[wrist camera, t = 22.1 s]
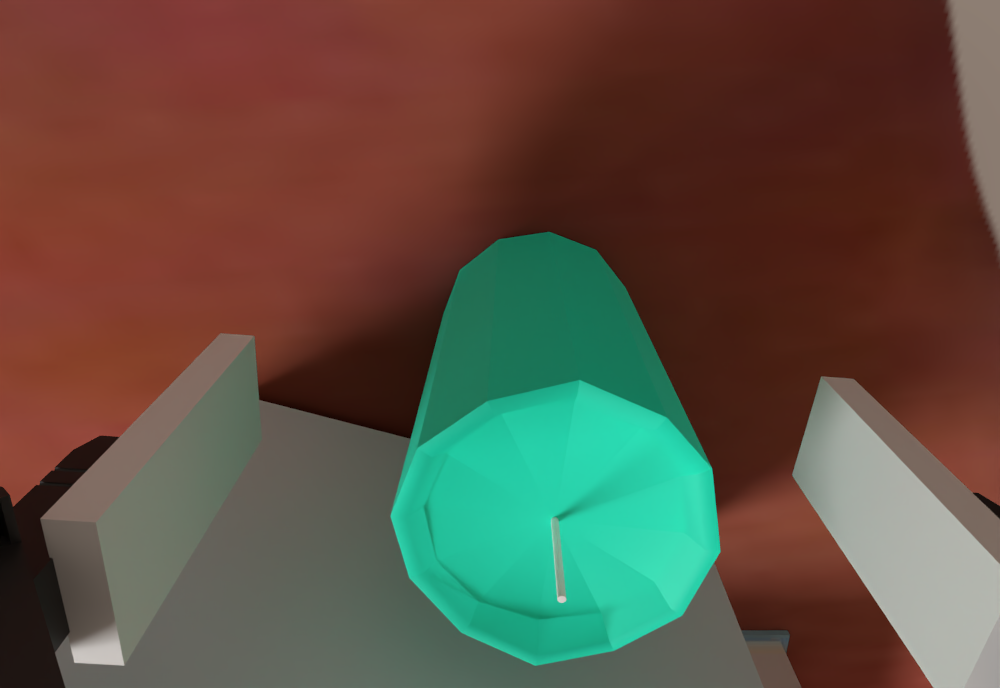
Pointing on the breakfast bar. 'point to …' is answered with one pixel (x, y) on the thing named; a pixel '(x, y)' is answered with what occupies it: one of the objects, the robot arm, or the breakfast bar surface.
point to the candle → (552, 462)
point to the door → (362, 593)
